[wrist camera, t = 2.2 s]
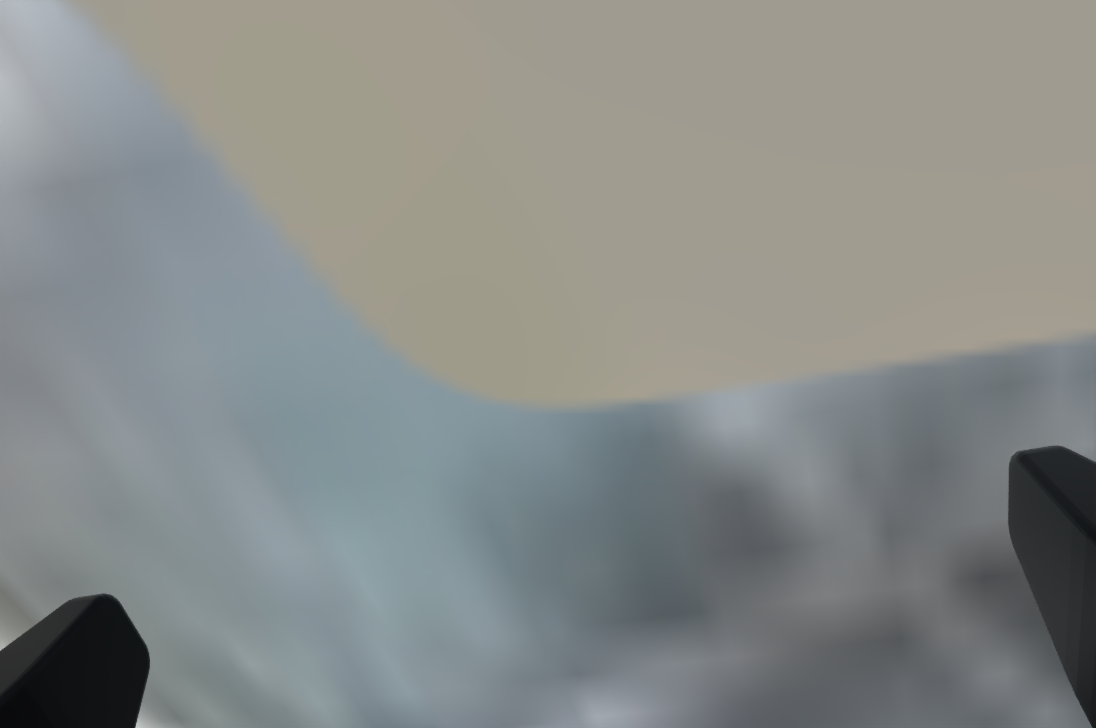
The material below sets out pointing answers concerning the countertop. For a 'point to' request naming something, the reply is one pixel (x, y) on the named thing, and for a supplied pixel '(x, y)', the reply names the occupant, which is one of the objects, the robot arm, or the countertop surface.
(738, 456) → the countertop surface
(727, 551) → the countertop surface
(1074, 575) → the robot arm
